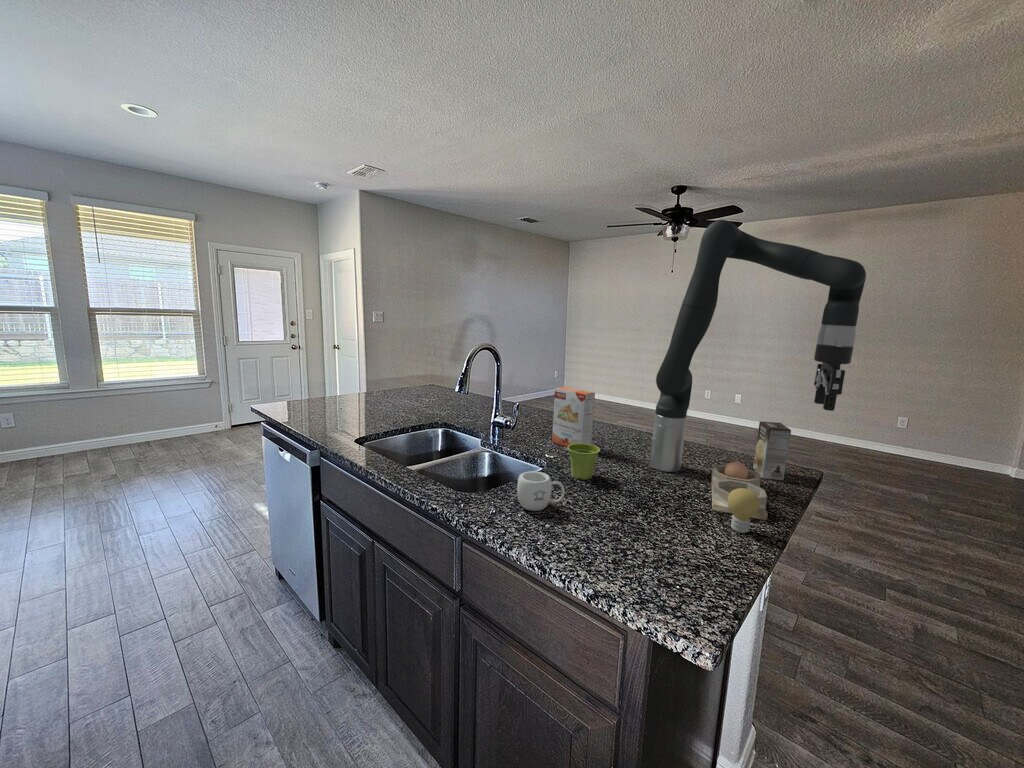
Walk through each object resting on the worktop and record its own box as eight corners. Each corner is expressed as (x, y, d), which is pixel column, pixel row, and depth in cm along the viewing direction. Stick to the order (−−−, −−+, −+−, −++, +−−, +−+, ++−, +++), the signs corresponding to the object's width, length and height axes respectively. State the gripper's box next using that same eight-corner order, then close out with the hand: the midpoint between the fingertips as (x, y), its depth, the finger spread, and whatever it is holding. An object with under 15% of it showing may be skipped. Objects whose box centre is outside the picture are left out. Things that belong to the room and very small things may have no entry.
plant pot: (576, 484, 124) (578, 454, 122) (559, 472, 132) (561, 444, 131) (604, 480, 127) (606, 451, 126) (586, 468, 136) (588, 442, 134)
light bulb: (718, 523, 103) (723, 483, 101) (744, 523, 104) (749, 483, 102) (734, 537, 97) (740, 495, 95) (761, 537, 97) (767, 495, 96)
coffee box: (751, 468, 143) (758, 420, 140) (773, 470, 142) (780, 422, 139) (761, 478, 134) (769, 427, 131) (784, 480, 133) (792, 429, 130)
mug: (519, 514, 104) (520, 483, 102) (513, 499, 112) (515, 470, 111) (568, 513, 105) (570, 482, 104) (559, 498, 114) (561, 469, 112)
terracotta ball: (723, 483, 124) (726, 463, 123) (722, 477, 130) (725, 457, 129) (747, 488, 122) (750, 467, 121) (745, 480, 127) (748, 461, 126)
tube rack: (712, 509, 111) (714, 493, 110) (711, 476, 134) (712, 462, 133) (766, 520, 106) (769, 502, 105) (755, 483, 129) (757, 469, 129)
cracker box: (550, 442, 161) (554, 387, 158) (561, 440, 166) (565, 385, 162) (580, 452, 151) (585, 393, 148) (591, 449, 155) (595, 391, 152)
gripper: (810, 341, 117) (800, 400, 120) (825, 344, 104) (813, 410, 107) (843, 343, 114) (832, 403, 117) (863, 346, 101) (850, 414, 104)
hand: (823, 406), depth 112 cm, fingers open, 8 cm apart
